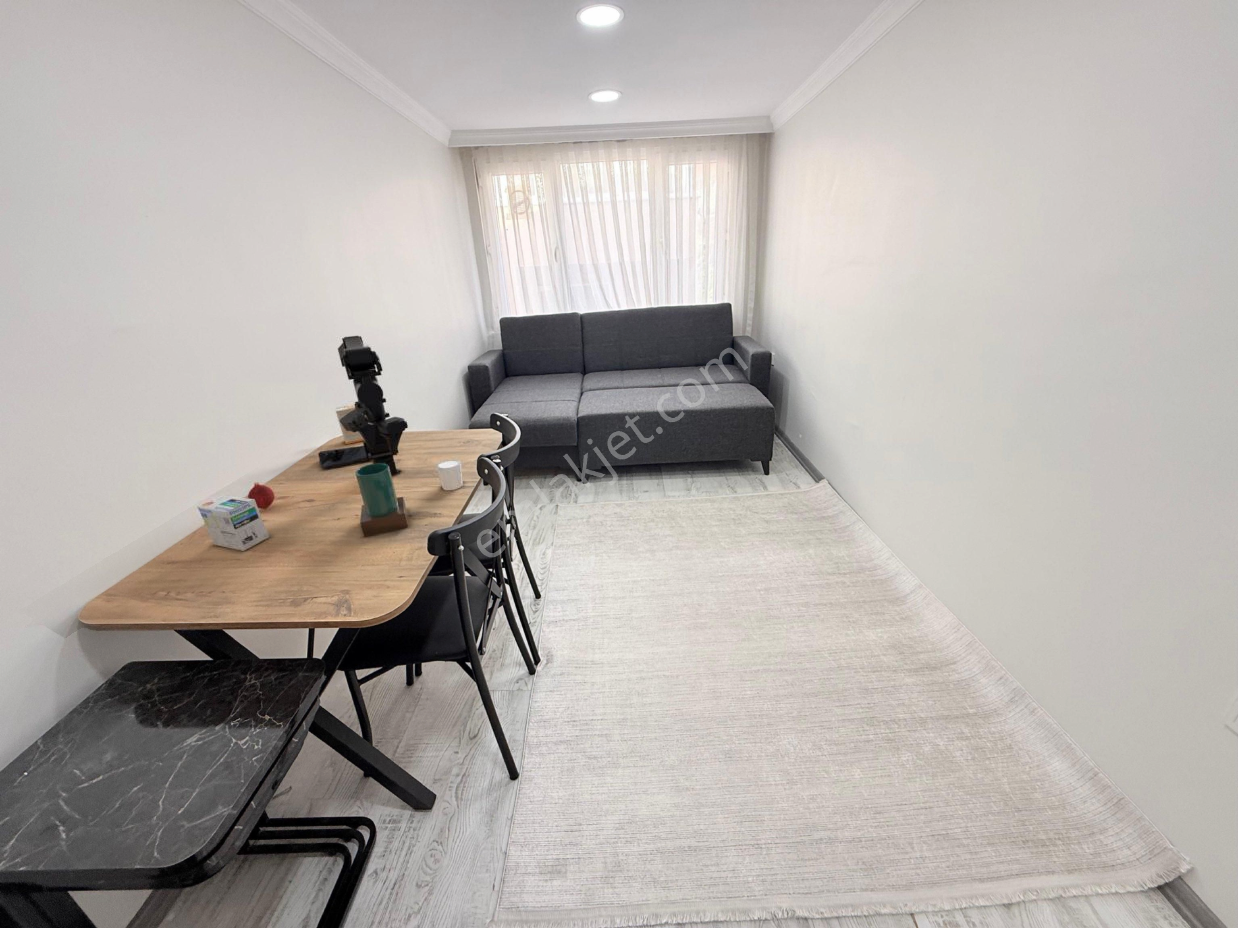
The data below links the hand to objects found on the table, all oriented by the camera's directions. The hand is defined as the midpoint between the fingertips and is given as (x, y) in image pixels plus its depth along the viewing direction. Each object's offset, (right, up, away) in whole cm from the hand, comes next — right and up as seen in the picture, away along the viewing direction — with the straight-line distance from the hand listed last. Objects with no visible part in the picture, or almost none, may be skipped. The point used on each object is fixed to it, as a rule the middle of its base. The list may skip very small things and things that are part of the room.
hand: (383, 451), depth 136 cm
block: (+6, -18, -10) cm, 22 cm away
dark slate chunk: (-24, -1, +33) cm, 40 cm away
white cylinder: (+16, -10, +8) cm, 21 cm away
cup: (+6, -15, -12) cm, 20 cm away
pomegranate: (-32, -16, 0) cm, 36 cm away
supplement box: (-33, +5, +48) cm, 59 cm away
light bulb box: (-27, -22, -16) cm, 38 cm away
